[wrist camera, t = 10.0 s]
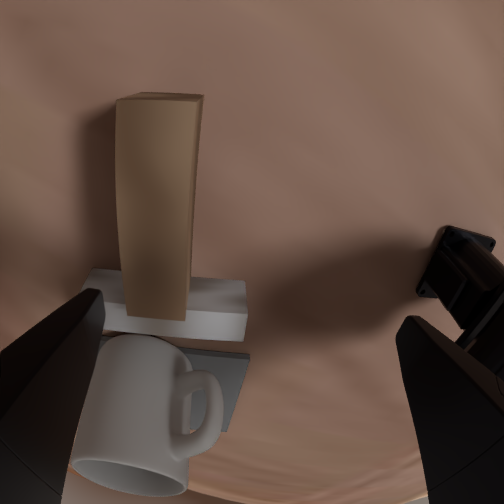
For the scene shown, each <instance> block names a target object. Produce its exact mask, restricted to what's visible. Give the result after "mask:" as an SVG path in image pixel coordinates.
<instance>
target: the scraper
mask: <svg viewBox="0 0 504 504" xmlns="http://www.w3.org/2000/svg"><path fill="white" fill-rule="evenodd" d="M203 101H204V95H200V94H183V93H155V92H141V93H138V94H134V95H131V96H127V97H124V98H121V99H118V100H116V125H115V184H116V209H117V226H118V240H119V252H120V262H121V271H118V270H108V269H98V268H92V269H91V271H90V273H89V275H88V277H87V279H86V281H85V283H84V284H83V286H82V288H81V290H80V292H82V291H83V290H85V289H86V288H95V289H100V290H101V291H102V293H103V299H104V305H105V311H106V318H105V323H104V327H103V329H106V330H113V331H121V332H130V333H138V334H148V335H158V336H168V337H180V338H192V339H206V340H222V341H242V342H243V340H244V334H245V329H246V323H247V317H248V308H247V297H246V287H245V281H241V280H227V279H213V278H200V277H191V259H192V237H193V219H194V203H195V189H196V175H197V163H198V151H199V140H200V130H201V120H202V110H203ZM80 292H79V293H80Z"/></svg>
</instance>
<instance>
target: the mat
mask: <svg viewBox="0 0 504 504" xmlns="http://www.w3.org/2000/svg"><path fill="white" fill-rule="evenodd" d="M112 338H113V337H108V336H101V341H100V346H99V350H98V354H99V351H100V349H101V347H102V346H103V345H104V344H105V343H106V342H107V341H108V340H110V339H112ZM176 348H178V349H179V350H180V351H181V352H183V353H184V355H185V356H186V357H187V358H188V360H189V361H190V363H191V365H192V369H193V370H207V371H209V372H211V373H212V374H213V375H214V376H215V377H216V378H217V380H218V382H219V384H220V387H221V390H222V395H223V404H224V416H223V424H222V428H221V432H227V429H228V426H229V423H230V420H231V417H232V414H233V411H234V408H235V405H236V402H237V399H238V395H239V392H240V389H241V386H242V383H243V380H244V377H245V373H246V370H247V367H248V364H249V361H250V356H249V354H238V353H227V352H216V351H206V350H197V349H188V348H180V347H176ZM97 357H98V355H97ZM205 411H206V393H205V390H204V389H201V390H197V391H195V392H193V393H192V397H191V415H190V429H194V430H197V429H198V428H199V427H200V426H201V424H202V422H203V419H204V416H205Z"/></svg>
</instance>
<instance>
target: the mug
mask: <svg viewBox="0 0 504 504" xmlns="http://www.w3.org/2000/svg"><path fill="white" fill-rule="evenodd" d="M201 389H204V390H205V393H206V411H205V416H204V419H203V422H202V424H201V426H200V427H199V428H198V429H197V430H196V431H195V432H193V433H191V434H190V415H191V397H192V393H193V392H195V391H197V390H201ZM223 416H224V404H223V395H222V390H221V387H220V384H219V382H218V380H217V378H216V377H215V376H214V375H213V374H212V373H211V372H209V371H207V370H193V369H192V365H191V363H190V361H189V360H188V358H187V357H186V356H185V355H184V353H183V352H181V351H180V350H179V349H178V348H176V347H175V346H173V345H172V344H170V343H168V342H166V341H164V340H161V339H158V338H155V337H152V336H147V335H141V334H125V335H120V336H116V337H114V338H112V339H110V340H108V341H107V342H106V343H105V344H104V345H103V346H102V347H101V349H100V351H99V354H98V357H97V360H96V365H95V368H94V372H93V375H92V378H91V382H90V385H89V389H88V392H87V396H86V399H85V403H84V407H83V411H82V414H81V418H80V422H79V426H78V430H77V434H76V438H75V443H74V447H73V452H72V457H71V465H72V467H73V468H74V469H75V470H76V471H77V472H78V473H79V474H80V475H82V476H83V477H85V478H87V479H89V480H91V481H93V482H95V483H97V484H100V485H102V486H105V487H108V488H111V489H114V490H118V491H121V492H126V493H131V494H136V495H144V496H172V495H178V494H181V493H183V492H184V491H186V490H187V487H188V474H189V457H192V456H195V455H198V454H200V453H203V452H205V451H207V450H209V449H210V448H211V447H212V446H213V445H214V444H215V443H216V441H217V440H218V437H219V435H220V432H221V428H222V424H223Z"/></svg>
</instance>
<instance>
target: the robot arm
mask: <svg viewBox="0 0 504 504" xmlns="http://www.w3.org/2000/svg"><path fill="white" fill-rule="evenodd" d="M450 233H451V234H450ZM495 244H496V241H495V240H494V239H493V238H492V237H489V236H485V235H482V234H479V233H475V232H472V231H468V230H464V229H461V228H457V227H454V226H449V227H447V228H446V230H445V232H444V234H443V236H442V238H441V241H440V243H439V245H438V247H437V249H436V251H435V253H434V255H433V257H432V259H431V261H430V263H429V265H428V267H427V269H426V271H425V273H424V275H423V277H422V279H421V281H420V283H419V285H418V287H417V289H416V293H417V294H418V296H419V297H428V298H438V299H439V300H440V301H441V303H442V304H443V306H444V307H445V308H446V310H447V311H449V313H450V314H451V315H452V317H453V318H454V320H455V321H456V323H457V324H458V326H459V327H460V329H463V330H464V332H463V333H462V334H461V335H460V337H459V338H458V339H457V340H456V341H455V342H453V341H452V340H450V339H449V338H448V337H446V336H445V335H444V334H443V333H441V332H440V331H439V330H437V329H436V328H435V327H433V326H432V325H431V324H429V323H428V322H427V321H425V320H424V319H423V318H421V317H420V316H414V315H410V316H407V317H406V318H405V320H404V322H403V323H402V325H401V327H400V329H399V330H398V332H397V334H396V346H397V351H398V356H399V362H400V367H401V373H402V378H403V383H404V387H405V391H406V395H407V398H408V402H409V406H410V410H411V414H412V418H413V422H414V427H415V431H416V435H417V440H418V444H419V449H420V454H421V459H422V464H423V469H424V474H425V480H426V486H427V491H428V499H429V504H504V265H503V264H502V263H501V262H500V261H499V260H498V259H497V258H496V257H495V256H494V255H493V254H492V253H491V252H492V250H493V248H494V246H495ZM105 318H106V311H105V305H104V299H103V293H102V291H101V290H100V289H95V288H86V289H85V290H83V291H82V292H80V293H79V294H78V295H76V296H75V297H73V298H72V299H71V300H69V301H68V302H66V303H65V304H64V305H62V306H61V307H59V308H58V309H57V310H55V311H54V312H52V313H51V314H50V315H48V316H47V317H46V318H44V319H43V320H42V321H40V322H39V323H37V324H36V325H35V326H33V327H32V328H31V329H29V330H28V331H27V332H25V333H24V334H23V335H22V336H20V337H19V338H18V339H16V340H15V341H14V342H12V343H11V344H10V345H9V346H7V347H6V348H5V349H3V350H2V351H1V352H0V504H61V499H62V496H61V495H62V493H63V487H64V482H65V477H66V473H67V468H68V464H69V459H70V455H71V450H72V447H73V442H74V438H75V435H76V431H77V427H78V423H79V419H80V416H81V412H82V409H83V405H84V402H85V398H86V395H87V391H88V388H89V385H90V382H91V378H92V375H93V372H94V368H95V365H96V360H97V355H98V350H99V346H100V341H101V336H102V332H103V327H104V323H105Z"/></svg>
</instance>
